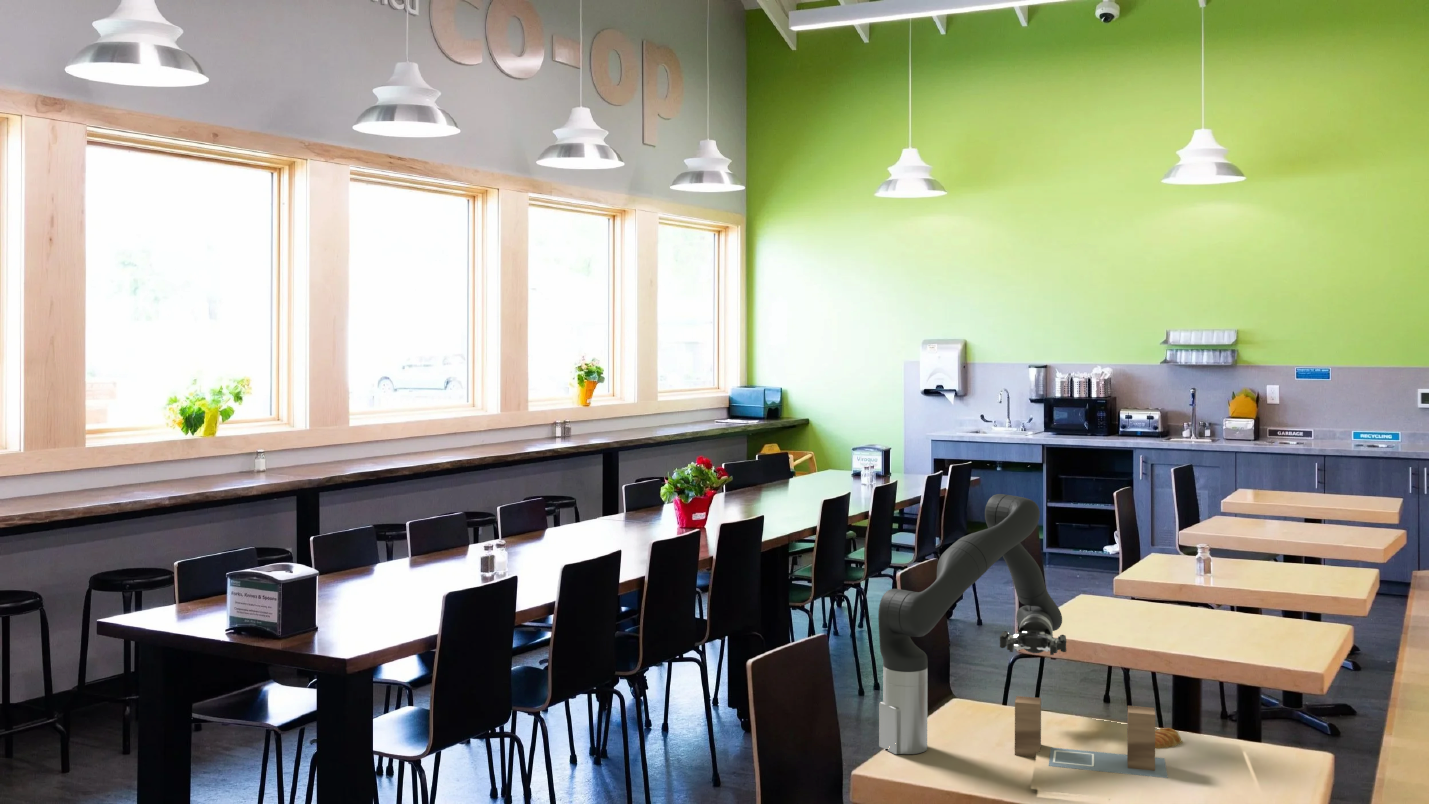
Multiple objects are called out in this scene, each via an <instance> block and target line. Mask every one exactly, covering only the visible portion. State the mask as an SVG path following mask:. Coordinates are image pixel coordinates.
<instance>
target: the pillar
mask: <svg viewBox="0 0 1429 804" xmlns="http://www.w3.org/2000/svg"><path fill="white" fill-rule="evenodd" d="M1015 696H1016V697H1015V701H1014V756H1018V755H1019V756H1020V757H1029V758H1037V753H1040V752H1041V748H1042V747H1041V746H1042V697H1033V696H1032V697H1031V696H1020V695H1015Z"/></svg>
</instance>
